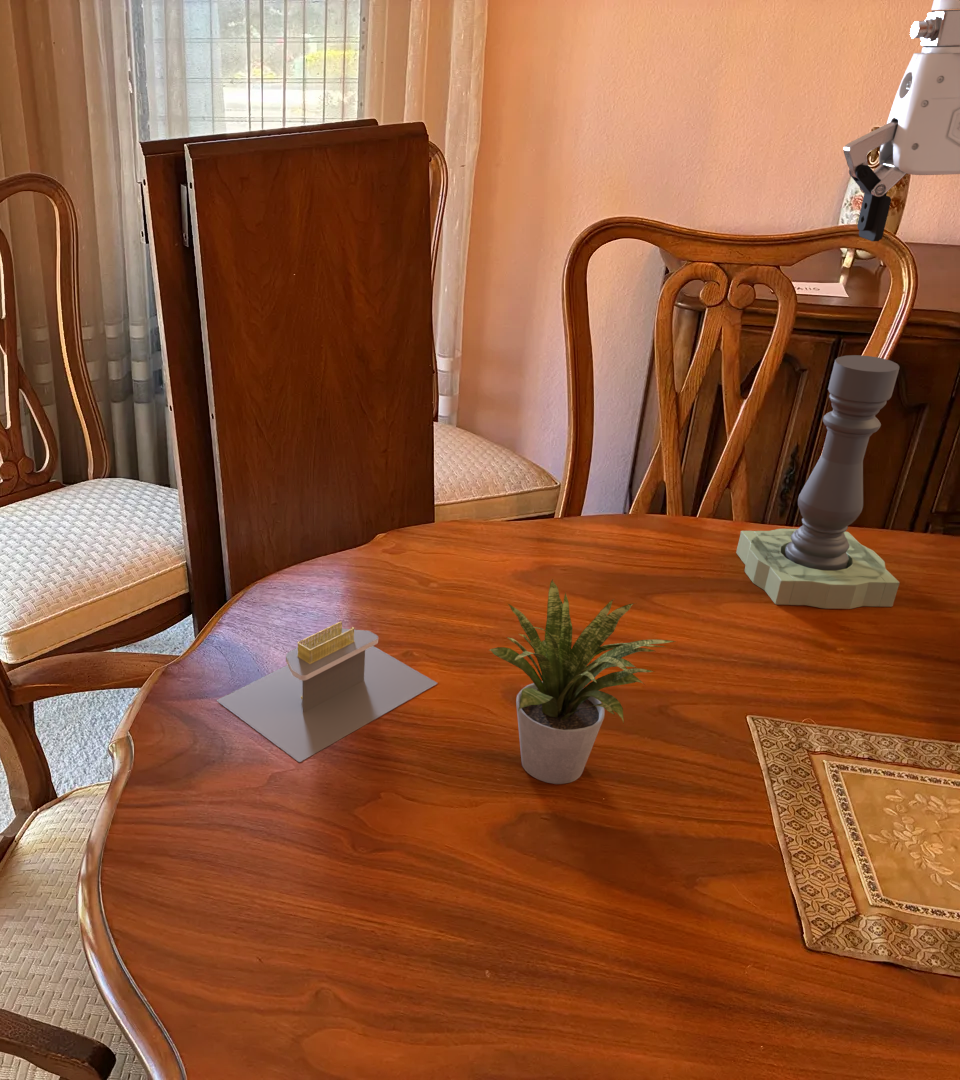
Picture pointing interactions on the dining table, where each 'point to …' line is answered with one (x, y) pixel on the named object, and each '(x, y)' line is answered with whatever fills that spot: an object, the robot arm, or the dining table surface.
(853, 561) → the base pad
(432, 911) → the dining table surface
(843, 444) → the grey baluster
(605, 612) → the house plant
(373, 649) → the platform
